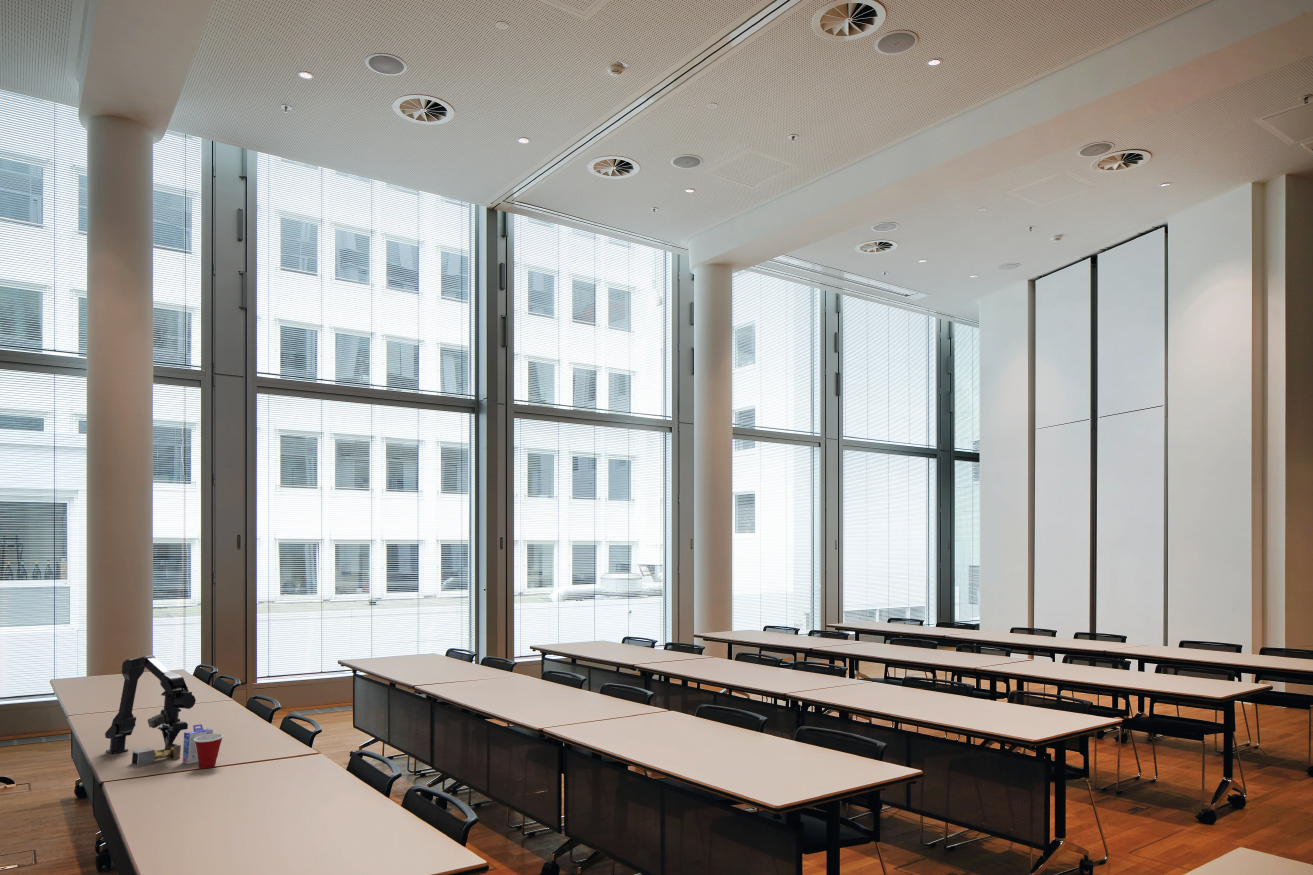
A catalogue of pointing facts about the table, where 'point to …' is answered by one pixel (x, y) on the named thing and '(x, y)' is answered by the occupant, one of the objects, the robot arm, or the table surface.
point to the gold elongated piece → (164, 751)
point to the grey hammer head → (142, 756)
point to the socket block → (176, 751)
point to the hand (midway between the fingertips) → (168, 744)
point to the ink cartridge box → (193, 743)
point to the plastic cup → (208, 749)
